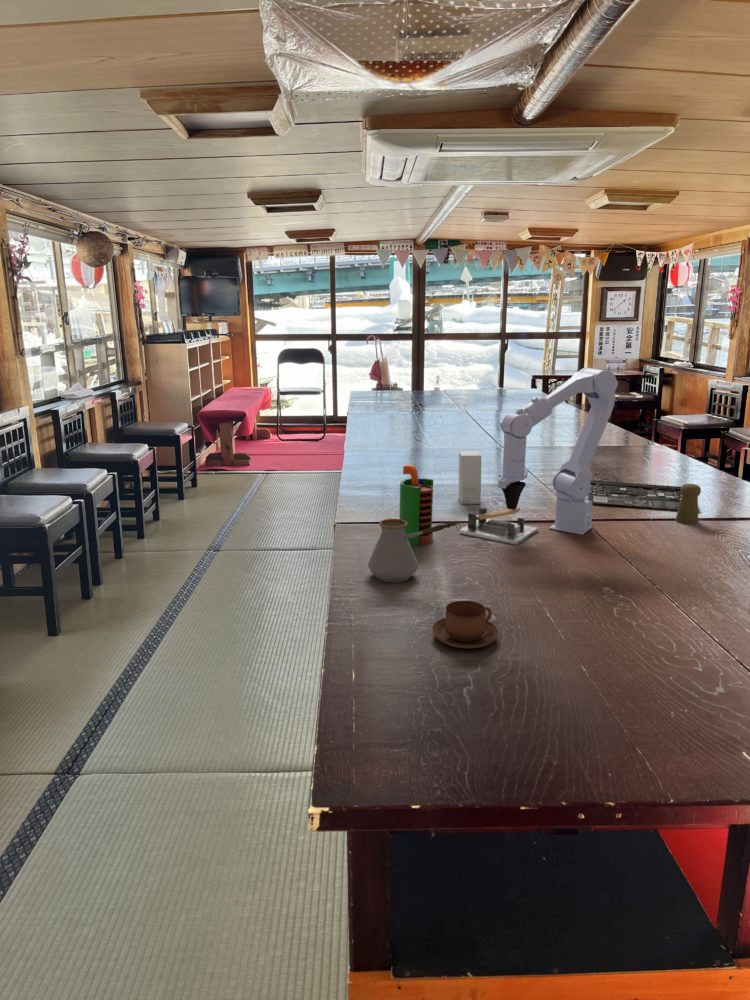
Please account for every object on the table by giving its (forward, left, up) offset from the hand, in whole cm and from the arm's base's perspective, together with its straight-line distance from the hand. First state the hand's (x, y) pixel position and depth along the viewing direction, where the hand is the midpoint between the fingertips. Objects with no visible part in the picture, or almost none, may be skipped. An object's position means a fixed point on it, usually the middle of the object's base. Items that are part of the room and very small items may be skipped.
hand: (511, 508), depth 183 cm
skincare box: (+25, -24, -8) cm, 35 cm away
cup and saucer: (-18, +61, -8) cm, 64 cm away
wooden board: (+4, 0, -3) cm, 5 cm away
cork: (-37, -39, -8) cm, 54 cm away
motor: (+19, +18, -8) cm, 27 cm away
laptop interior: (-18, -58, -8) cm, 61 cm away
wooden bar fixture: (+3, 0, -7) cm, 8 cm away
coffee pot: (+5, +42, -8) cm, 43 cm away
